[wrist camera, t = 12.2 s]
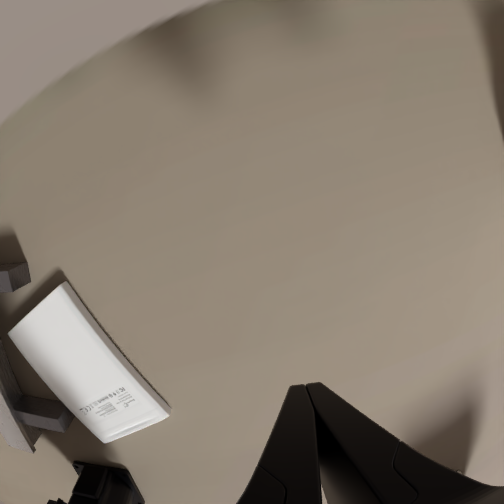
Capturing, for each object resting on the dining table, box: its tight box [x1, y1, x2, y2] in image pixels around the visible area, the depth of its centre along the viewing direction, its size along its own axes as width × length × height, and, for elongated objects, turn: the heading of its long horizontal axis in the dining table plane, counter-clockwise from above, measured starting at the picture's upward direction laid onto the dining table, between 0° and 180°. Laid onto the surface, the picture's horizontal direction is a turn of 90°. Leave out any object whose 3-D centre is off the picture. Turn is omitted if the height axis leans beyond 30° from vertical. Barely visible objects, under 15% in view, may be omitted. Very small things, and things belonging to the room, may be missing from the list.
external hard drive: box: [8, 281, 171, 443], centre depth 21 cm, size 2×8×12 cm
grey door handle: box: [0, 262, 75, 454], centre depth 19 cm, size 21×9×3 cm, turn 4°
